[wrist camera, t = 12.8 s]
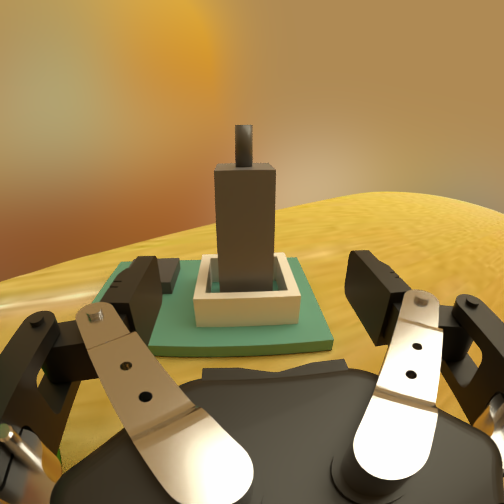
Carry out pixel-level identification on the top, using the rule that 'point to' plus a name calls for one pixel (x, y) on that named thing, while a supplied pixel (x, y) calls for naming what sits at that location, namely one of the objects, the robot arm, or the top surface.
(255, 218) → the plug
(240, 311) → the board
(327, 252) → the top surface
